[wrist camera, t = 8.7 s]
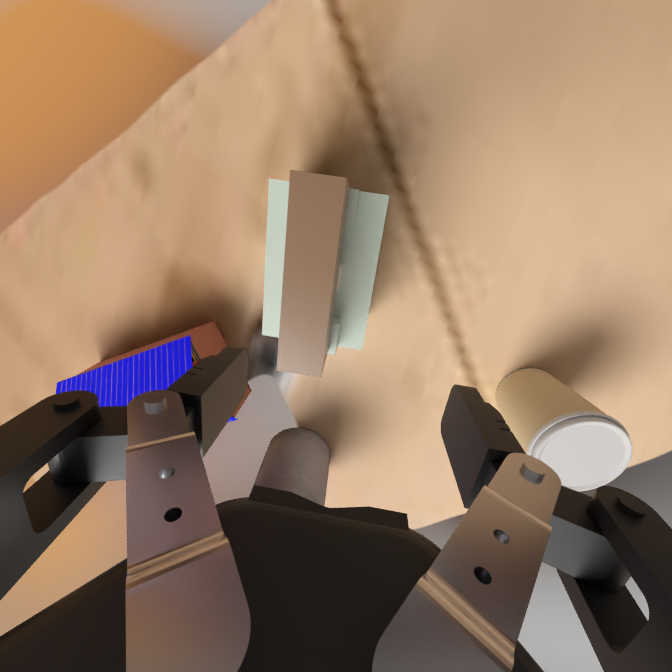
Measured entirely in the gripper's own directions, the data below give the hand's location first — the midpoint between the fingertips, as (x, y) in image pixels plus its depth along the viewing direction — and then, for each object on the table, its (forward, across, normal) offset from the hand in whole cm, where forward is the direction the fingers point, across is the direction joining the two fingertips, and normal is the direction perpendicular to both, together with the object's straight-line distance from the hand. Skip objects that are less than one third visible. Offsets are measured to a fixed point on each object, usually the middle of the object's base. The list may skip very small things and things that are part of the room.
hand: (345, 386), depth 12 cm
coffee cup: (+28, -24, +13) cm, 39 cm away
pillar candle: (+28, +5, +29) cm, 41 cm away
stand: (+28, +4, -1) cm, 28 cm away
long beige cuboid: (+16, +4, -1) cm, 16 cm away
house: (+28, +24, +19) cm, 41 cm away
